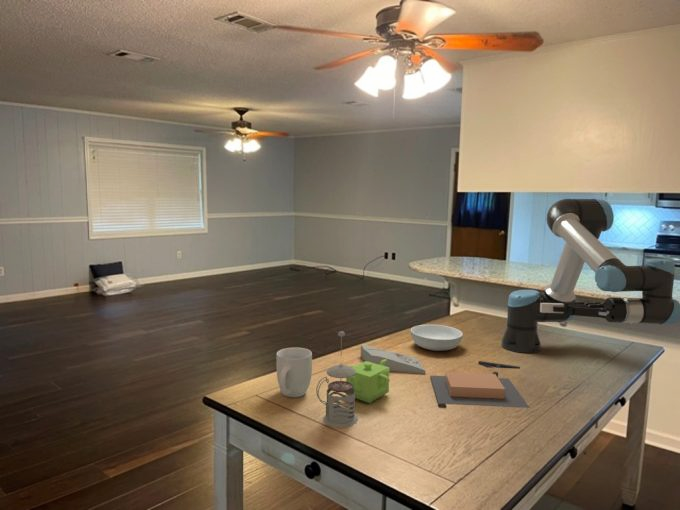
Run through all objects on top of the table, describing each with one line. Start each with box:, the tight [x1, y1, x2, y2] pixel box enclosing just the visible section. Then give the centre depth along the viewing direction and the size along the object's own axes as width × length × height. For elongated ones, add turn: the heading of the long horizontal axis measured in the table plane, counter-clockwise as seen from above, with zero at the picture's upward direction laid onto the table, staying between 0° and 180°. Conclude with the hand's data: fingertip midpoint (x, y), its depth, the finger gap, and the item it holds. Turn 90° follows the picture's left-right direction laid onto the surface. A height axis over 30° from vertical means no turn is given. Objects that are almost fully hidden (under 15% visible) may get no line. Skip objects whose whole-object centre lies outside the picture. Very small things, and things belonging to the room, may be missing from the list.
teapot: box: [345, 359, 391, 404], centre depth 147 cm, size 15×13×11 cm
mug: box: [275, 347, 313, 398], centre depth 146 cm, size 15×11×13 cm
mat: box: [429, 375, 530, 409], centre depth 151 cm, size 22×26×1 cm
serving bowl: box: [410, 324, 464, 352], centre depth 195 cm, size 21×21×7 cm
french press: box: [316, 330, 359, 429], centre depth 130 cm, size 10×12×25 cm
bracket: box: [478, 360, 521, 377], centre depth 169 cm, size 14×15×3 cm
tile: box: [444, 371, 505, 399], centre depth 150 cm, size 12×3×16 cm
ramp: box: [360, 344, 426, 375], centre depth 175 cm, size 28×16×5 cm, turn 54°
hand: (541, 307), depth 146 cm, fingers closed
